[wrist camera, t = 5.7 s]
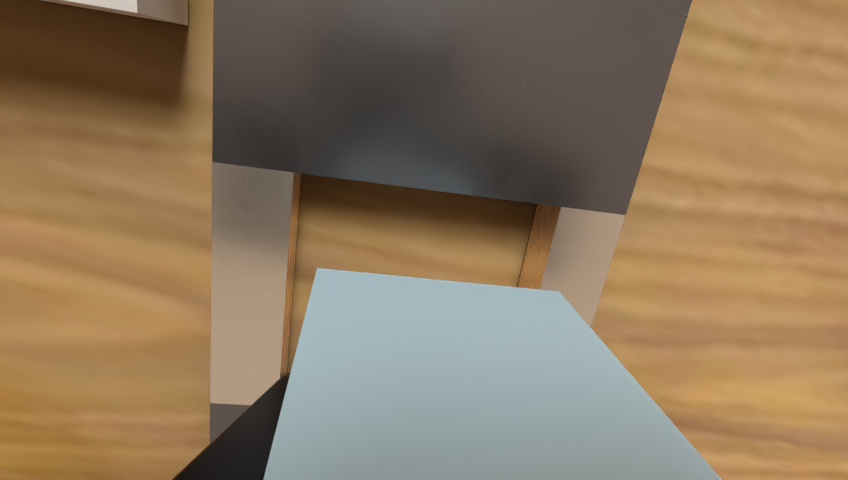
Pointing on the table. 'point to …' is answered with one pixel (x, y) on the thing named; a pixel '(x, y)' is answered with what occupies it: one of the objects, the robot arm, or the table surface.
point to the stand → (138, 8)
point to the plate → (421, 138)
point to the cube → (463, 390)
